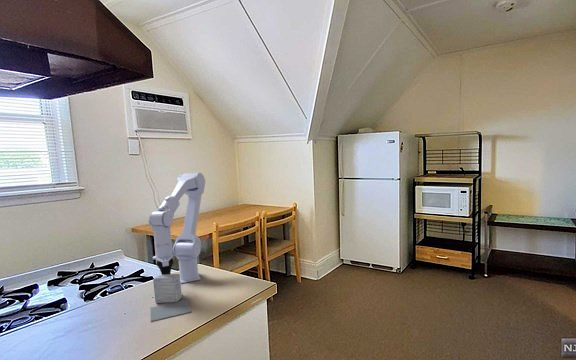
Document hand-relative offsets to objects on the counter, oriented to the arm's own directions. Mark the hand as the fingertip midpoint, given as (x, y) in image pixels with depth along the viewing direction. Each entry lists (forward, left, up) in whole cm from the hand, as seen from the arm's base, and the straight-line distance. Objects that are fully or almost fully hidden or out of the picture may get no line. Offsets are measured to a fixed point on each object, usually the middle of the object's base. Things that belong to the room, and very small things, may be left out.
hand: (166, 279), depth 120 cm
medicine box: (+6, 0, -5) cm, 8 cm away
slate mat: (+14, 0, -5) cm, 15 cm away
